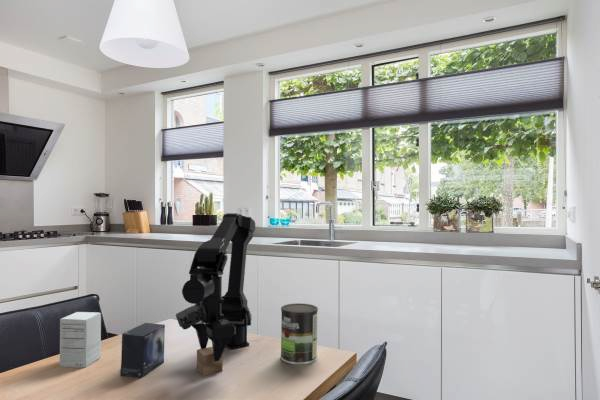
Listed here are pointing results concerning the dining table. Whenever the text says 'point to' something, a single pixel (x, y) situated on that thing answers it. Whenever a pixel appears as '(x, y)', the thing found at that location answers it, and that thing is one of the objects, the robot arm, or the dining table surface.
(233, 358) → the dining table surface
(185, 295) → the robot arm
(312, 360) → the coffee can
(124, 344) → the small box
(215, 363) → the walnut cube
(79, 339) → the supplement box
